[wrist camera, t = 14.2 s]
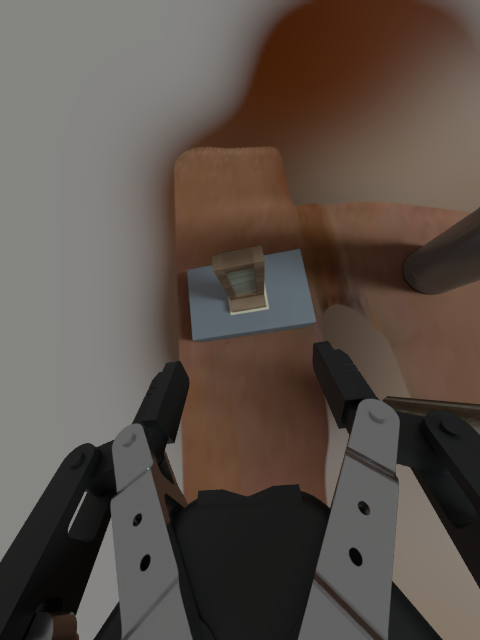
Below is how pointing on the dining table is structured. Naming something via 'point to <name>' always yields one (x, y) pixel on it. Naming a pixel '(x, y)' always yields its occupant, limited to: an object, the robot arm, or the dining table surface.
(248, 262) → the walnut frame
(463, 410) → the picture frame
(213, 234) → the dining table surface
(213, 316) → the display step
